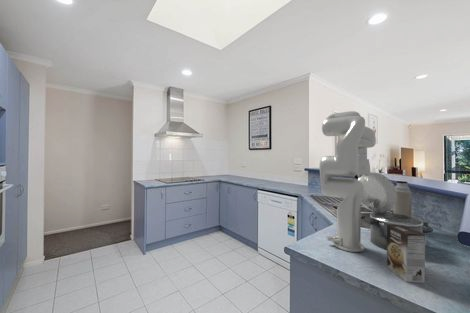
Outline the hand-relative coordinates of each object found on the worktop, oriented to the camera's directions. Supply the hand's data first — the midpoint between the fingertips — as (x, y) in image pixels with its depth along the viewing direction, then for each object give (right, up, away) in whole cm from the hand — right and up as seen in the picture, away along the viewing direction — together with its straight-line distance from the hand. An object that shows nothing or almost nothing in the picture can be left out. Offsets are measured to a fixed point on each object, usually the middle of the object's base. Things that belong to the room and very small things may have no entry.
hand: (359, 186), depth 123 cm
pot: (-2, -24, -29) cm, 37 cm away
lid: (-1, -1, -15) cm, 16 cm away
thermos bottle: (+20, -24, -7) cm, 33 cm away
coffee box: (-18, -23, -53) cm, 61 cm away
